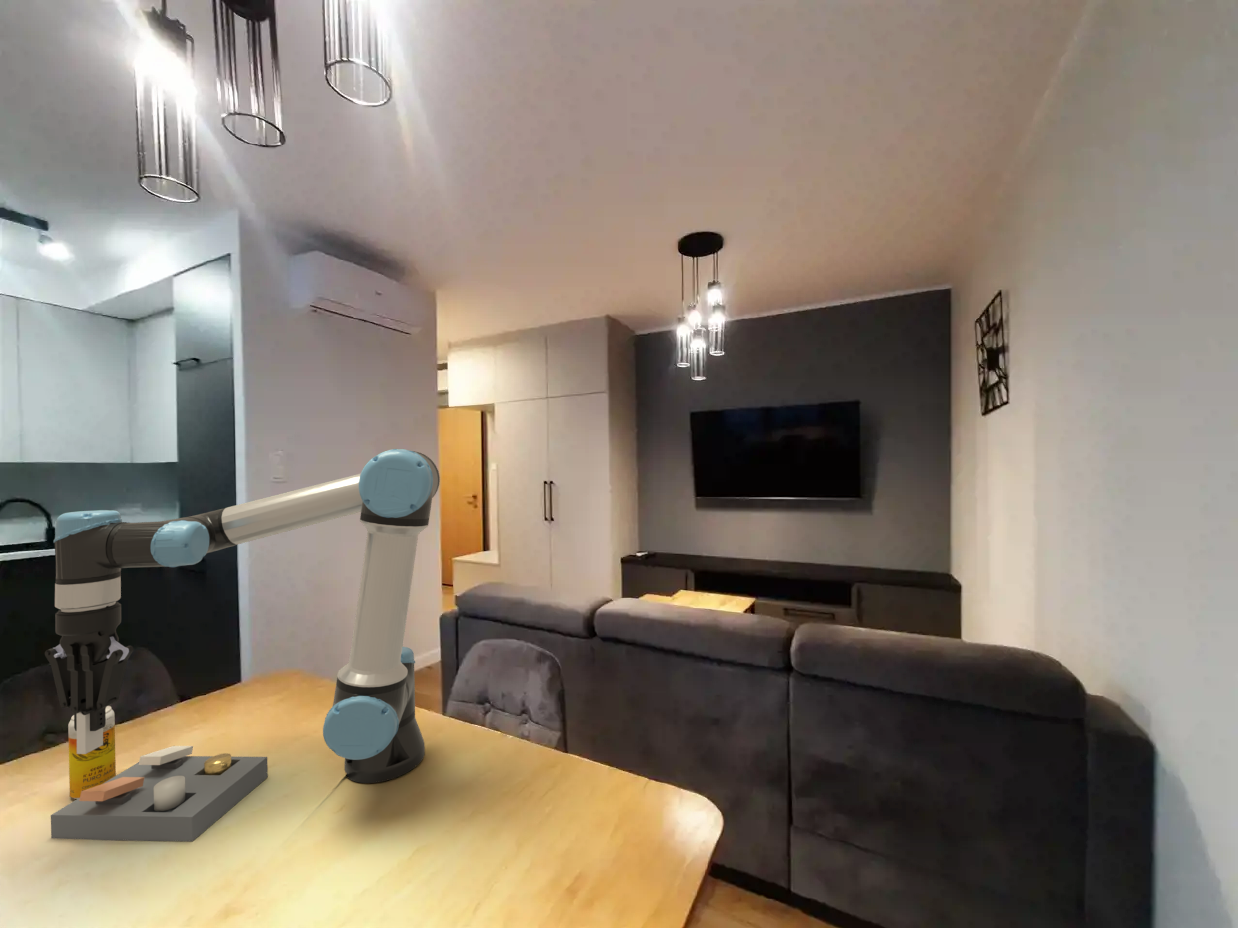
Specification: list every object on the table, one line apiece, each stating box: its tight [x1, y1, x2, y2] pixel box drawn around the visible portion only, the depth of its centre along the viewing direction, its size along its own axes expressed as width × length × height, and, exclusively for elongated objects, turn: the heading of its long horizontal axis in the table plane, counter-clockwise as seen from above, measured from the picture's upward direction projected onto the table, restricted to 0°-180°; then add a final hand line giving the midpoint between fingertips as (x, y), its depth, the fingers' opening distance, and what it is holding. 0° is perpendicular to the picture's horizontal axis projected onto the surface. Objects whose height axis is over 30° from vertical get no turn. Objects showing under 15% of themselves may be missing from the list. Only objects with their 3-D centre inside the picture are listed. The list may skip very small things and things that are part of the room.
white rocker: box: [138, 745, 194, 765], centre depth 98 cm, size 4×7×1 cm, turn 178°
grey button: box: [154, 776, 185, 811], centre depth 87 cm, size 4×4×4 cm
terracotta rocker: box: [79, 777, 144, 801], centre depth 88 cm, size 4×7×1 cm, turn 178°
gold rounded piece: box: [204, 753, 232, 775], centre depth 97 cm, size 4×4×4 cm
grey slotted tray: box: [50, 755, 269, 842], centre depth 93 cm, size 24×17×5 cm
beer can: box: [67, 705, 117, 800], centre depth 97 cm, size 6×6×15 cm
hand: (90, 748), depth 84 cm, fingers closed
